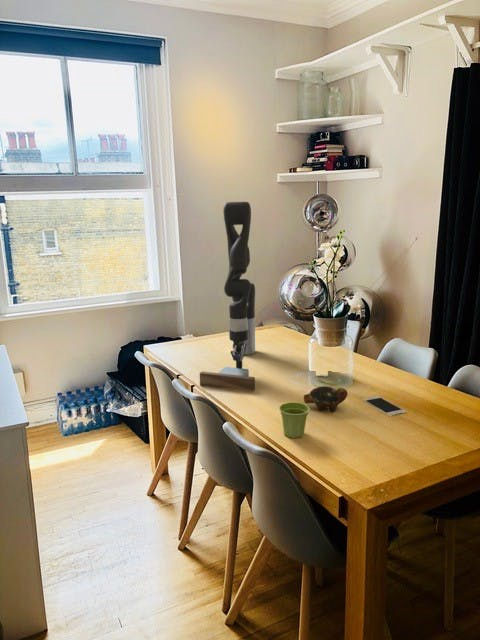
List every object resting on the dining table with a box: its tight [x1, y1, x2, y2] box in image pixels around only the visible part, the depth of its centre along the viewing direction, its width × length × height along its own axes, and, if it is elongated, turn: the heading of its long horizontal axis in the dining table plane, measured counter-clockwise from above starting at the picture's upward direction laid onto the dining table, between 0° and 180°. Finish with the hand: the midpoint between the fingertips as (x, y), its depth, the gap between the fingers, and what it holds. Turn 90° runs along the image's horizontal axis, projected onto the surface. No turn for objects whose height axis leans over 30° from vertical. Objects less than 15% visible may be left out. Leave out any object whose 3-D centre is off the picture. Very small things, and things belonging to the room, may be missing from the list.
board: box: [199, 371, 256, 392], centre depth 201 cm, size 2×22×5 cm, turn 70°
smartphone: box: [362, 396, 407, 416], centre depth 181 cm, size 7×16×1 cm, turn 22°
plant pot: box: [278, 401, 311, 439], centre depth 160 cm, size 9×9×9 cm
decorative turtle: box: [303, 385, 349, 413], centre depth 180 cm, size 10×15×8 cm, turn 80°
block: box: [218, 366, 250, 377], centre depth 208 cm, size 11×10×4 cm
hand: (239, 369), depth 213 cm, fingers closed
